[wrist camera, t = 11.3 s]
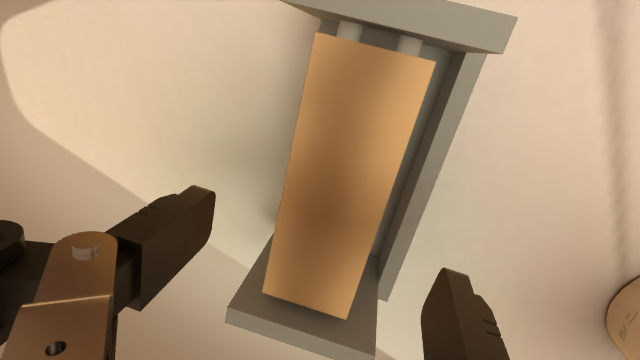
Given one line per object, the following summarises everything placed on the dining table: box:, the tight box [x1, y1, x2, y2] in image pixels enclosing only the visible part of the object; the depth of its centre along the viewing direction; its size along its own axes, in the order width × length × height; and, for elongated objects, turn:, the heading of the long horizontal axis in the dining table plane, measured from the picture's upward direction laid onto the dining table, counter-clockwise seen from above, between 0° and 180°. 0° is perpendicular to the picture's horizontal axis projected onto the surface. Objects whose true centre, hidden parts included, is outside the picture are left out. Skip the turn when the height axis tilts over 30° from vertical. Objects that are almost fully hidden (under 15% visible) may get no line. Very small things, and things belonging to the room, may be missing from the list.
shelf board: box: [262, 32, 436, 320], centre depth 18 cm, size 5×14×3 cm, turn 166°
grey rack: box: [225, 0, 518, 360], centre depth 20 cm, size 10×18×11 cm, turn 166°
